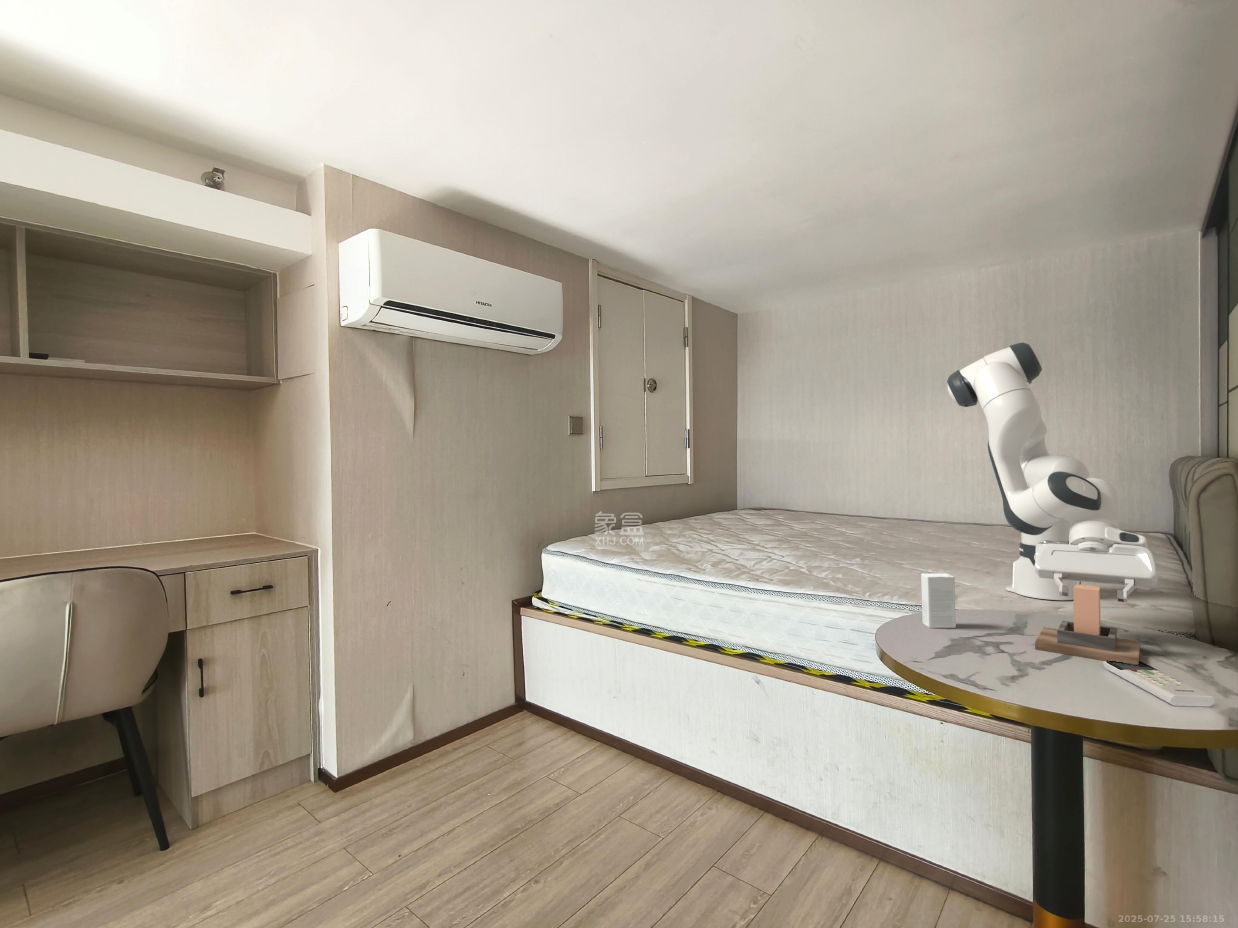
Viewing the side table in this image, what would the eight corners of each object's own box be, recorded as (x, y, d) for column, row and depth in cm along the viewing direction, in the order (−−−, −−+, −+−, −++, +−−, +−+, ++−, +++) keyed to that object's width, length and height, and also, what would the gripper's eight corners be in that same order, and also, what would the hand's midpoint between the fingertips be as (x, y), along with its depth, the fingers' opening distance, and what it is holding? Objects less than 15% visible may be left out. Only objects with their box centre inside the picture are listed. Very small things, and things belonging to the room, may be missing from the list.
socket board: (1044, 633, 133) (1043, 615, 132) (1139, 648, 122) (1139, 628, 122) (1035, 648, 123) (1034, 629, 123) (1138, 666, 112) (1138, 645, 112)
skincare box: (947, 623, 142) (947, 572, 142) (956, 628, 138) (955, 576, 138) (921, 623, 143) (920, 572, 143) (928, 628, 139) (927, 576, 138)
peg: (1075, 636, 125) (1075, 584, 125) (1100, 640, 122) (1100, 586, 122) (1073, 641, 122) (1073, 587, 122) (1099, 645, 120) (1098, 590, 119)
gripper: (1034, 531, 136) (1029, 582, 128) (1156, 537, 122) (1157, 594, 115) (1037, 548, 139) (1033, 599, 132) (1156, 555, 125) (1158, 612, 118)
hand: (1092, 597), depth 123 cm, fingers open, 8 cm apart
